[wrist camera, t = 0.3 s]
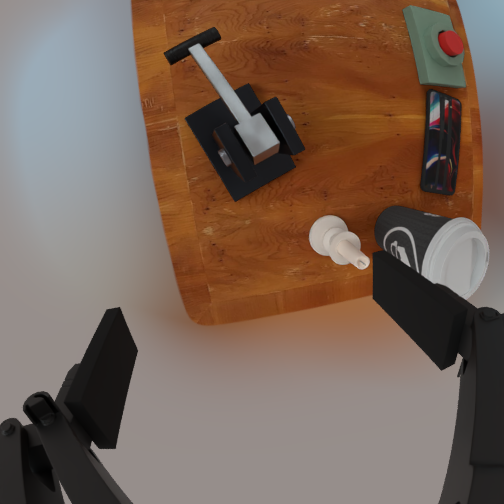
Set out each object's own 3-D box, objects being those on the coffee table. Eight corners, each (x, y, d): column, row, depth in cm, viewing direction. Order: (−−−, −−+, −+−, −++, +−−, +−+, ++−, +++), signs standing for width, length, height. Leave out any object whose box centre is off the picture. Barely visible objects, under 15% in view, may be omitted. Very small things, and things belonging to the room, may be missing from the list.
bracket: (185, 119, 32) (170, 101, 19) (247, 84, 31) (271, 50, 19) (234, 200, 36) (250, 232, 23) (293, 166, 35) (341, 179, 22)
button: (435, 30, 28) (442, 28, 26) (452, 35, 28) (460, 32, 26) (441, 54, 29) (449, 52, 27) (457, 57, 29) (466, 56, 27)
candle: (307, 255, 39) (338, 291, 30) (309, 214, 38) (344, 239, 28) (344, 253, 40) (383, 286, 30) (348, 214, 38) (391, 238, 29)
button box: (402, 9, 29) (417, 1, 26) (440, 18, 30) (456, 12, 26) (419, 84, 33) (437, 81, 30) (456, 88, 34) (474, 86, 30)
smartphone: (421, 191, 38) (428, 87, 33) (418, 190, 38) (425, 87, 34) (454, 196, 39) (462, 100, 34) (452, 195, 40) (459, 101, 35)
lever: (167, 61, 24) (160, 47, 21) (215, 35, 23) (211, 20, 21) (238, 174, 24) (236, 167, 21) (293, 143, 23) (296, 133, 21)
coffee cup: (411, 262, 42) (477, 308, 28) (358, 259, 41) (421, 313, 27) (425, 199, 39) (501, 228, 25) (371, 189, 38) (448, 217, 24)
